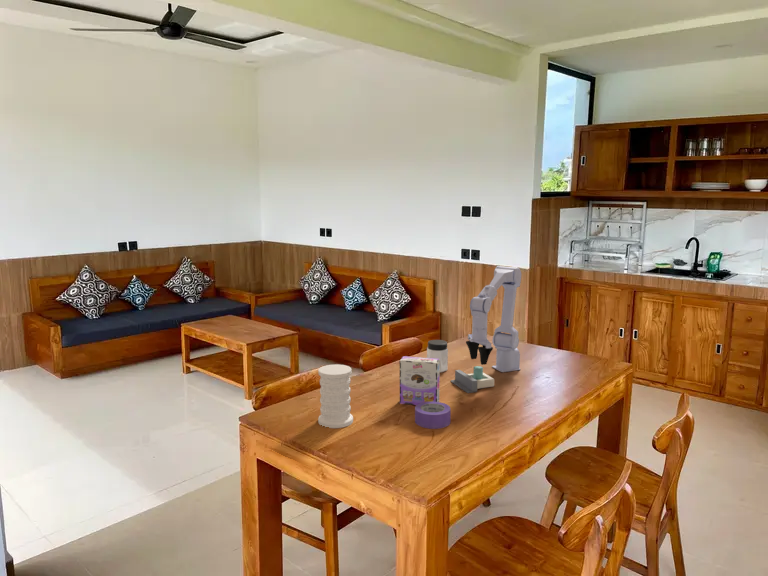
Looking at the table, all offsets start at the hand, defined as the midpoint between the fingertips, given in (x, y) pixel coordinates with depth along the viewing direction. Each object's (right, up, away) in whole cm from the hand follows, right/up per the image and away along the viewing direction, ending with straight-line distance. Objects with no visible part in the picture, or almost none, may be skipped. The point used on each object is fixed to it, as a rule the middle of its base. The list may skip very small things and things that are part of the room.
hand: (478, 361), depth 231 cm
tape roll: (-21, -16, -34) cm, 43 cm away
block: (0, -9, +2) cm, 9 cm away
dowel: (0, -9, +1) cm, 9 cm away
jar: (-14, -6, +20) cm, 26 cm away
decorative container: (-53, -16, -34) cm, 65 cm away
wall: (-5, -10, 0) cm, 11 cm away
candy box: (-24, -13, -17) cm, 32 cm away
